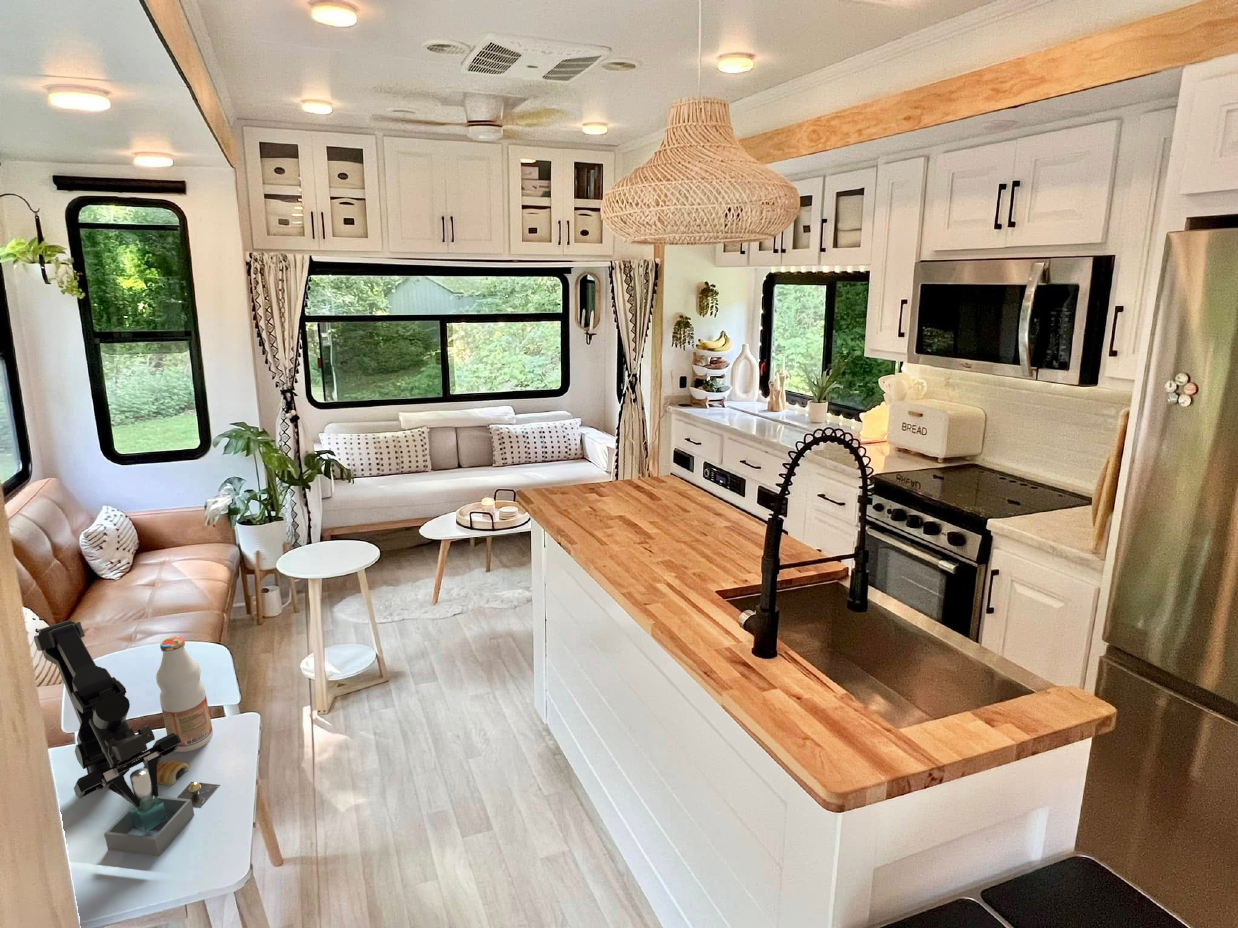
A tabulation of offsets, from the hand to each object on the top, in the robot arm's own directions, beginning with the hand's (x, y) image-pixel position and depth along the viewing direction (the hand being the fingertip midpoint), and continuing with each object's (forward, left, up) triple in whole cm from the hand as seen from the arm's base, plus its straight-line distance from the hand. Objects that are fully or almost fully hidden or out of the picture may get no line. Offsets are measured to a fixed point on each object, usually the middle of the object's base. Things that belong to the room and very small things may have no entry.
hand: (147, 801), depth 155 cm
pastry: (-10, +17, -10) cm, 22 cm away
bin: (-1, +1, -9) cm, 9 cm away
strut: (-1, +1, -6) cm, 6 cm away
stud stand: (+1, +12, -9) cm, 15 cm away
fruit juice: (-12, +29, -10) cm, 33 cm away
